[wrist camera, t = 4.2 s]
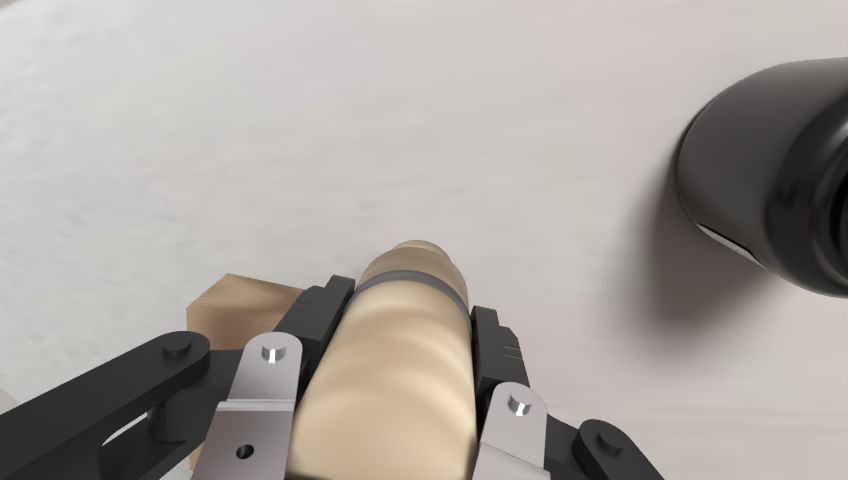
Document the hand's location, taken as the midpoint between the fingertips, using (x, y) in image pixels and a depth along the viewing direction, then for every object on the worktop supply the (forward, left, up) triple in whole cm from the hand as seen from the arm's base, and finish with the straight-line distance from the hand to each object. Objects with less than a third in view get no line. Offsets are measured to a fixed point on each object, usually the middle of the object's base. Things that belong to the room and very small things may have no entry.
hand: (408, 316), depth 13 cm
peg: (0, 0, -3) cm, 3 cm away
